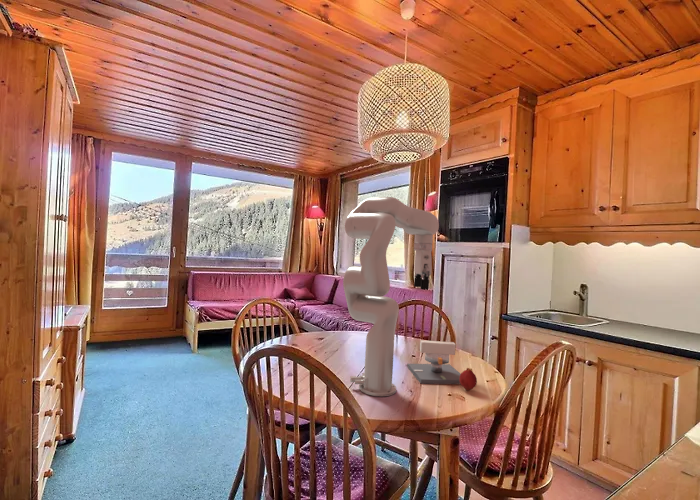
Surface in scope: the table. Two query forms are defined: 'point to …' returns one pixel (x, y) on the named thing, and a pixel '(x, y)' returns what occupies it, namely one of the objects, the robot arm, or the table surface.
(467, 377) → the onion
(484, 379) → the table surface
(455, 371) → the base
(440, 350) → the cap
